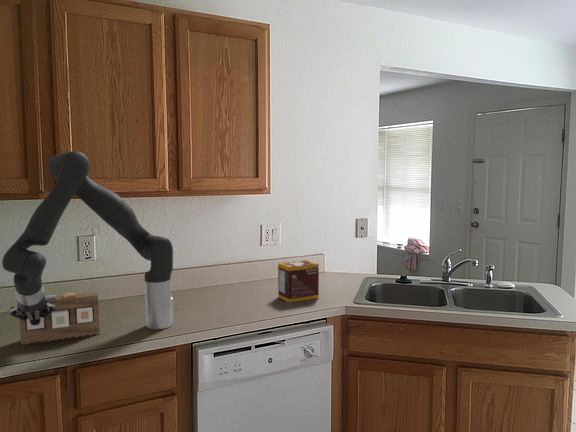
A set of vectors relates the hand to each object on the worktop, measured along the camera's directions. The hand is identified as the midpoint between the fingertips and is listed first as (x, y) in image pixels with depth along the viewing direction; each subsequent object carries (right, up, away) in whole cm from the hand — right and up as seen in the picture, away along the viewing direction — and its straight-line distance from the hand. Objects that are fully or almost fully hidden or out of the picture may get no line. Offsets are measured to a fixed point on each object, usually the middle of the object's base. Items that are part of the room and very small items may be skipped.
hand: (35, 322), depth 152 cm
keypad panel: (+5, -7, +7) cm, 11 cm away
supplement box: (+88, -2, +55) cm, 104 cm away
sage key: (+6, -2, +4) cm, 8 cm away
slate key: (-1, -2, +3) cm, 4 cm away
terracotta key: (+12, -1, +9) cm, 15 cm away
